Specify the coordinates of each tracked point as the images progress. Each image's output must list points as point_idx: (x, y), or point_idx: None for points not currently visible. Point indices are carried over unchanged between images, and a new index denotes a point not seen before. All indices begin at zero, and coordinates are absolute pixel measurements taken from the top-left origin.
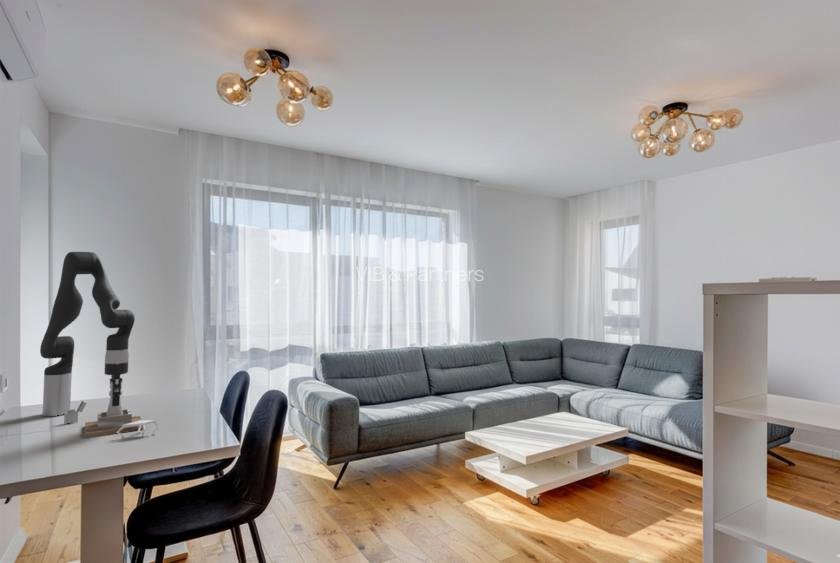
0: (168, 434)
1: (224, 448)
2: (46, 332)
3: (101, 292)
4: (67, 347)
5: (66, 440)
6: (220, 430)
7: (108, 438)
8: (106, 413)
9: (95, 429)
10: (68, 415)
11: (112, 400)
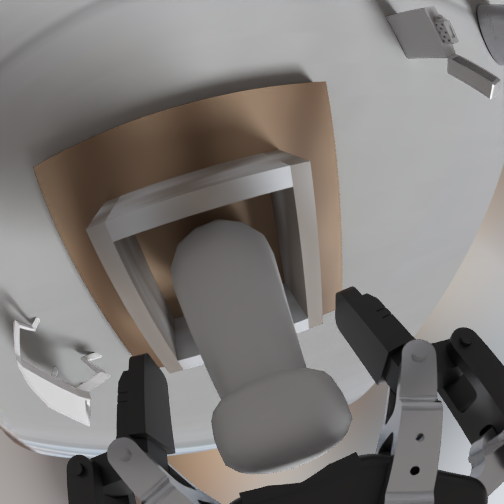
0: None
1: (22, 445)
2: None
3: None
4: None
5: (29, 92)
6: None
7: (28, 275)
8: (225, 243)
9: (105, 189)
10: (419, 18)
11: (127, 399)
